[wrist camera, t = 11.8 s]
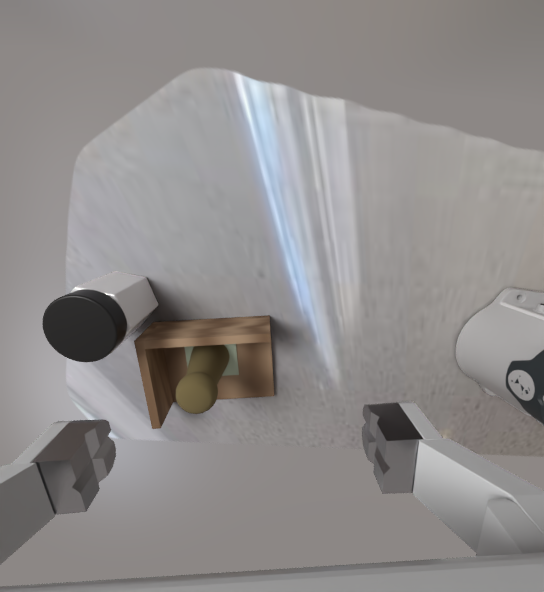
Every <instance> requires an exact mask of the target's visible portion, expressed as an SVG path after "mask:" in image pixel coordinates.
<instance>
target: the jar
mask: <svg viewBox="0 0 544 592" xmlns="http://www.w3.org/2000/svg"><path fill="white" fill-rule="evenodd" d="M157 306H158V302H157V300H156V298H155V296H154V293H153V291H152V289H151V287H150V285H149V282H148V280H147V278H146V277H143V276H138V275H133V274H128V273H123V272H118V271H113V272H111V273H108V274H106V275H103V276H101V277H98V278H96V279H93V280H91V281H89V282H86V283H84V284H81V285H79V286H76V287H75V288H74V289H73V290H72V292H71V293H69V294H67V295H65V296H62V297H60V298H58V299H56V300H54V301H53V302H52V303H51V304H50V305H49V306H48V308H47V309H46V311H45V313H44V316H43V330H44V333H45V336H46V338H47V340H48V342H49V343H50V344H51V345H52V347H53V348H54V349H55V350H56V351H57V352H59V353H60V354H62V355H63V356H65V357H67V358H69V359H72V360H75V361H79V362H93V361H98V360H100V359H103V358H104V357H106V356H107V355H109V354H110V353H112V352H113V351H114V350H115V349H116V348H117V347H118V346H120V345H121V344H122V343H123V342H124V341H125V340H126V339H127V338H128V337H129V336H130V335H131V334H133V333H134V332H135V331H136V330H137V329H138V328H139V327H140V326H141V325H142V324H143V323H144V322H145V321H146V319H147V318H148V317H149V316H150V315H151V313H152V312H153V311H154V310H155V309H156V308H157Z"/></svg>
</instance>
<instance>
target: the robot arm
mask: <svg viewBox="0 0 544 592" xmlns="http://www.w3.org/2000/svg"><path fill="white" fill-rule="evenodd" d="M517 296H518V297H517ZM456 359H457V362H458V365H459V367H460V368H461V370H462V371H463V372H464V373H465V374H466V375H467V376H469V377H470V378H472V379H474V380H475V381H477V382H478V383H479V385H480V386H481V388H482V390H483V391H484V392H485V393H487V394H488V395H490V396H498V397H500V398H501V399H503V400H504V401H506V402H507V403H509V404H511V405H512V406H514V407H515V408H517V409H518V410H520V411H521V412H523V413H524V414H526V415H529V416H533V417H534V418H535V419H536V421H538V422H539V423H540V424H542V425H543V426H544V292H542V291H535V290H528V289H521V288H514V287H509V288H506V289H504V290H503V291H502V292H501V293H500V294H499V295H498V296H497V298H496V299H495V300H494V301H493V303H491V304H490V305H489V306H487V307H486V308H484V309H482V310H481V311H479V312H478V313H477V314H475V315H474V316H473V317H472V318H471V319H470V320H469V321H468V322H467V323H466V325H465V326H464V328H463V329H462V331H461V333H460V335H459V337H458V340H457V344H456ZM363 417H364V419H365V421H366V423H365V424H364V426H363V427H362V440H363V446H364V450H365V453H366V455H367V458H368V460H369V461H370V462H372V463H373V464H374V475H375V477H376V480H377V482H378V484H379V487H380V489H381V491H382V493H383V494H386V493H413V495H414V496H415V497H416V498H417V499H418V500H419V501H421V502H422V503H423V504H424V505H425V506H426V507H427V508H428V509H429V510H430V511H431V512H432V513H434V514H435V515H436V516H437V517H438V518H439V519H440V520H441V521H442V522H443V523H444V524H445V525H447V526H448V527H449V528H450V529H451V530H452V531H453V532H454V533H455V534H456V535H457V536H459V537H460V538H461V539H462V540H463V541H464V542H465V543H466V544H467V545H468V546H469V547H471V548H472V549H473V550H474V551H475V552H476V557H462V558H446V559H430V560H414V561H398V562H382V563H367V564H351V565H335V566H320V567H304V568H289V569H274V570H258V571H243V572H226V573H210V574H194V575H178V576H162V577H146V578H131V579H115V580H98V581H82V582H66V583H52V584H35V585H21V586H20V585H19V586H3V587H0V592H544V490H542V489H540V488H538V487H537V486H535V485H533V484H531V483H529V482H527V481H526V480H524V479H522V478H520V477H518V476H517V475H514V474H513V473H511V472H509V471H507V470H506V469H504V468H502V467H500V466H498V465H496V464H495V463H493V462H491V461H489V460H487V459H486V458H484V457H482V456H480V455H478V454H476V453H475V452H473V451H471V450H469V449H467V448H465V447H464V446H462V445H460V444H458V443H456V442H454V441H453V440H451V439H449V438H443V437H442V436H441V435H440V434H439V432H438V431H437V430H436V429H435V427H434V426H433V425H432V424H431V422H430V421H429V420H428V419H427V417H426V416H425V415H424V414H423V412H422V411H421V410H420V409H419V407H418V406H417V405H416V404H415V402H413V401H403V402H396V403H382V404H366V405H364V407H363ZM110 431H111V428H110V425H109V422H108V421H106V420H80V421H60V422H56V423H53V424H51V425H50V426H49V427H48V428H47V429H46V430H45V431H44V432H43V433H42V434H41V435H40V436H39V437H38V438H37V439H36V440H35V441H34V442H33V443H32V444H31V445H30V446H29V447H28V448H27V449H26V450H25V451H24V452H23V453H22V454H21V455H20V456H19V457H18V458H17V459H16V460H15V461H14V462H13V463H12V464H8V465H4V466H2V467H0V565H1V564H2V563H3V562H4V561H5V560H6V559H7V558H8V557H9V556H11V555H12V554H13V553H14V552H15V551H16V550H17V549H18V548H20V547H21V546H22V545H23V544H24V543H25V542H26V541H28V540H29V539H30V538H31V537H32V536H33V535H34V534H36V532H38V531H39V530H40V529H41V528H42V527H44V526H45V525H46V524H47V523H48V522H49V521H50V520H51V519H53V518H54V517H55V515H56V514H67V513H76V512H86V511H87V509H88V508H89V506H90V504H91V503H92V501H93V499H94V498H95V496H96V494H97V493H98V491H99V482H100V481H101V480H102V479H104V478H105V477H106V476H107V475H108V474H109V472H110V471H111V469H112V467H113V464H114V460H115V457H116V448H115V444H114V441H113V440H111V439H110V438H109V437H108V435H109V433H110Z"/></svg>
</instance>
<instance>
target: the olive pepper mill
mask: <svg viewBox="0 0 544 592" xmlns="http://www.w3.org/2000/svg"><path fill="white" fill-rule="evenodd" d="M229 358H230V355H229V351H228V349H227V348H226V346H225V345H206V346H194V348H193V350H192V352H191V357H190V361H189V365H188V369H187V374H186V375H185V376H184V377H183V378H182V379H181V380H180V382H179V384H178V386H177V388H176V400H177V403H178V404H179V406H180V407H181V408H182V409H183V410H185V411H186V412H189V413H193V414H199V413H203V412H205V411H207V410H209V409H210V408H211V407H212V406H213V405H214V403H215V401H216V399H217V396H218V387H217V384H218V382H219V380H220V378H221V377H222V375H223V373H224V371H225V369H226V367H227V365H228V363H229Z"/></svg>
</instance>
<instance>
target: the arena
mask: <svg viewBox="0 0 544 592" xmlns="http://www.w3.org/2000/svg"><path fill="white" fill-rule="evenodd" d="M134 343H135V348H136V353H137V357H138V362H139V367H140V372H141V377H142V381H143V386H144V391H145V396H146V401H147V406H148V410H149V415H150V420H151V425H152V429H156V428H161V426H162V424H163V422H164V420H165V418H166V416H167V414H168V412H169V410H170V408H171V405H172V403H173V402H177V400H176V388H177V386H178V384H179V382H180V380H181V379H182V378H183V377H184V376H185V375H186V374H187V369H188V365H189V361H190V357H191V352H192V350H193V348H194V346H206V345H225V346H226V348H227V349H228V351H229V355H230V358H229V363H228V365H227V367H226V369H225V371H224V373H223V375H222V377H221V378H220V380H219V382H218V384H217V387H218V396H217V399H232V398H249V397H266V396H274V384H273V366H272V349H271V332H270V316H253V317H235V318H217V319H200V320H182V321H164V322H153V323H152V324H151V325H150V326H149V327H148V328H147V329H146V330H145V331H144V332H143V333H142V334H141V335H140V336H139V337H138V338H137V339H136V340H135V341H134Z"/></svg>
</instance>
